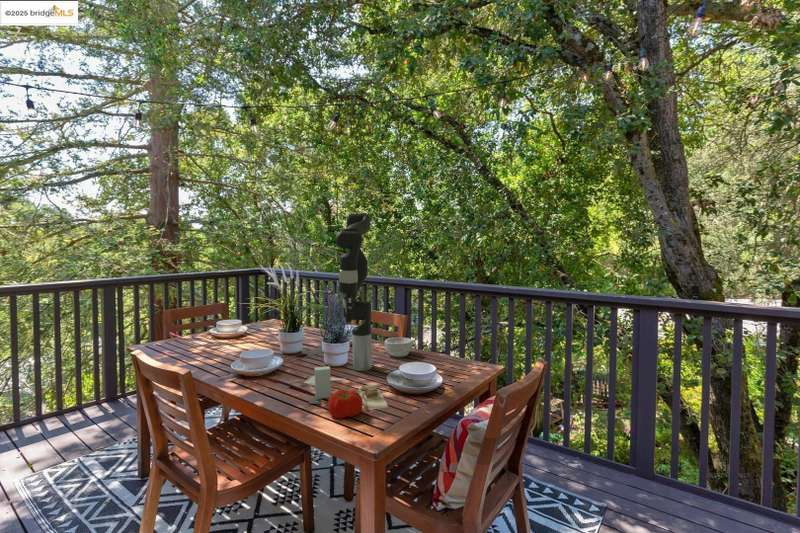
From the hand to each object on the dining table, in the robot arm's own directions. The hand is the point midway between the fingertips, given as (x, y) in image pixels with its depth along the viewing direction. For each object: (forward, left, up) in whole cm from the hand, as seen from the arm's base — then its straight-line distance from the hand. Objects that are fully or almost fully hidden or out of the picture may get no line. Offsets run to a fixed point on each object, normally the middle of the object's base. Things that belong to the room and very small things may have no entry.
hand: (347, 319), depth 172 cm
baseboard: (-7, -6, -32) cm, 33 cm away
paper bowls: (-54, +14, -31) cm, 64 cm away
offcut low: (+4, +10, -30) cm, 32 cm away
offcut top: (+4, +10, -29) cm, 31 cm away
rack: (+9, +12, -31) cm, 34 cm away
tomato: (+22, +4, -31) cm, 39 cm away
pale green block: (+8, -9, -30) cm, 33 cm away
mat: (+8, -9, -31) cm, 33 cm away
